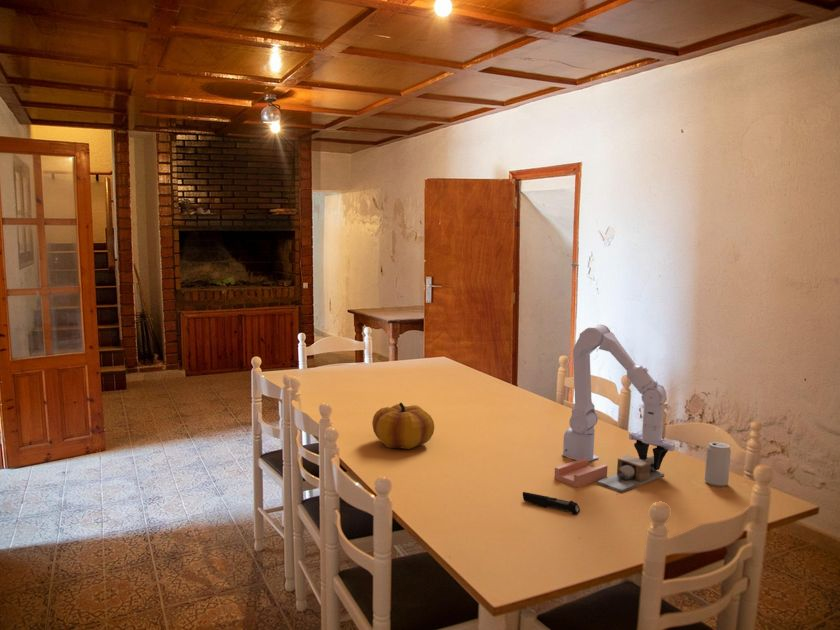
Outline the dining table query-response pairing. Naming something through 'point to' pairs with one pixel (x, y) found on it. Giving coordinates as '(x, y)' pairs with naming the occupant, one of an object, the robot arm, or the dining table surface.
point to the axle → (633, 469)
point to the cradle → (580, 473)
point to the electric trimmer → (551, 502)
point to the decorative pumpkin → (403, 426)
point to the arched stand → (641, 478)
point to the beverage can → (717, 464)
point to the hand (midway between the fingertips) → (649, 467)
